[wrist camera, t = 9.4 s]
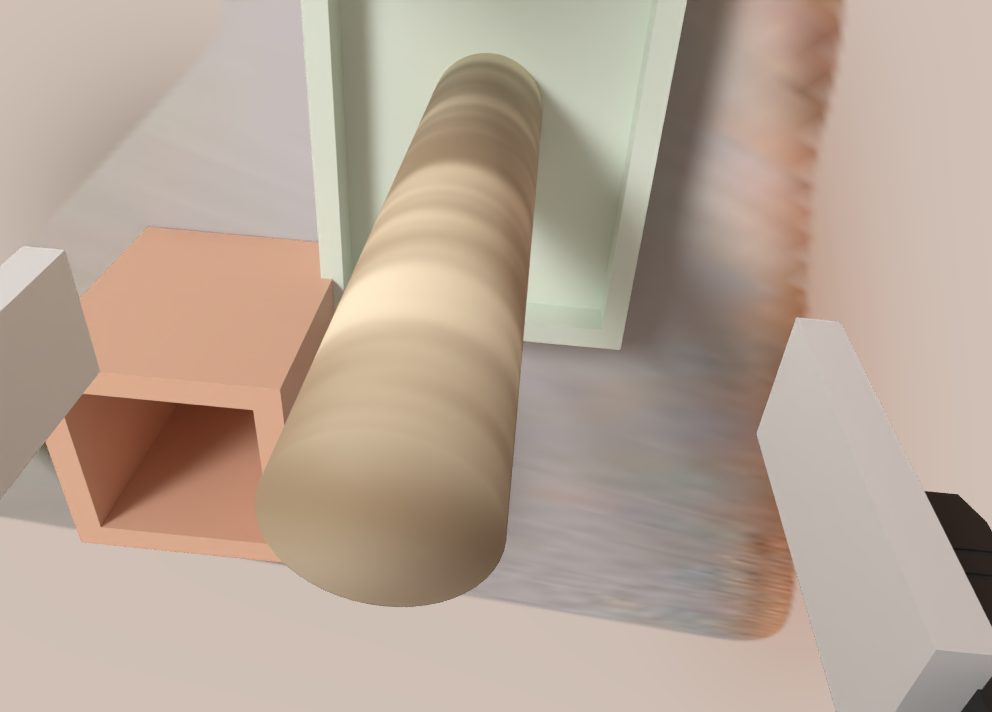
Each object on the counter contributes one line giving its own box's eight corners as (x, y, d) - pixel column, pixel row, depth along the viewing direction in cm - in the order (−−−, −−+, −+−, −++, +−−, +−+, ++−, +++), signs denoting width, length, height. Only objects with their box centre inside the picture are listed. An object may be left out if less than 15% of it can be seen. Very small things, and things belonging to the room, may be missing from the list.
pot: (147, 226, 31) (17, 364, 24) (348, 245, 31) (280, 389, 23) (181, 385, 35) (81, 542, 28) (356, 402, 35) (301, 564, 28)
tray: (311, -204, 22) (285, -203, 20) (704, -173, 22) (719, -168, 20) (340, 286, 32) (324, 322, 30) (616, 312, 32) (620, 350, 29)
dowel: (433, 47, 25) (239, 417, 10) (548, 58, 25) (516, 445, 10) (431, 157, 27) (268, 594, 12) (537, 167, 27) (497, 617, 12)
